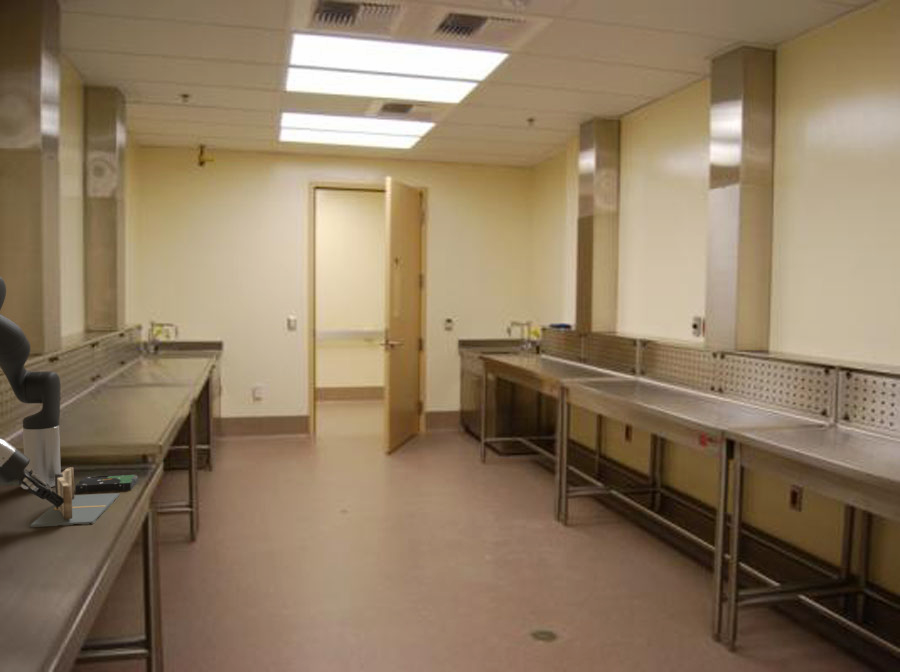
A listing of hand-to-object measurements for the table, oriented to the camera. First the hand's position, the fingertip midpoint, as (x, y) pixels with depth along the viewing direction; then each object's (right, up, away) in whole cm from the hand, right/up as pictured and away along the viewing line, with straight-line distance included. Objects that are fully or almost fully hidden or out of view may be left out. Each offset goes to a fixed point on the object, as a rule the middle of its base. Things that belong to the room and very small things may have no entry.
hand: (61, 503), depth 178 cm
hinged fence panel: (-1, -3, +4) cm, 5 cm away
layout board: (-1, -4, +10) cm, 11 cm away
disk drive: (-4, -3, +32) cm, 33 cm away
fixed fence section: (-6, -4, +14) cm, 16 cm away
